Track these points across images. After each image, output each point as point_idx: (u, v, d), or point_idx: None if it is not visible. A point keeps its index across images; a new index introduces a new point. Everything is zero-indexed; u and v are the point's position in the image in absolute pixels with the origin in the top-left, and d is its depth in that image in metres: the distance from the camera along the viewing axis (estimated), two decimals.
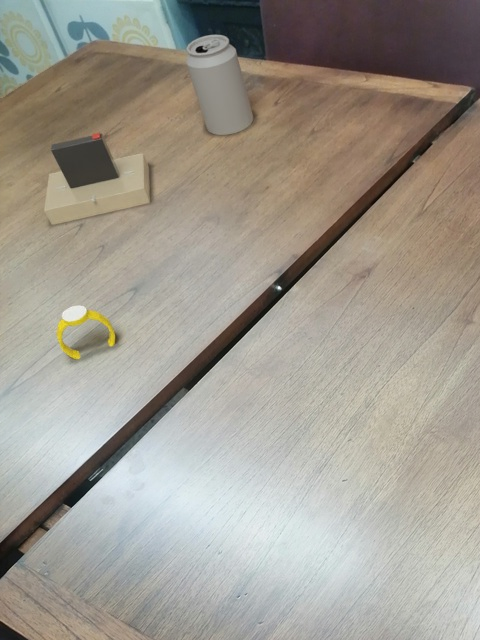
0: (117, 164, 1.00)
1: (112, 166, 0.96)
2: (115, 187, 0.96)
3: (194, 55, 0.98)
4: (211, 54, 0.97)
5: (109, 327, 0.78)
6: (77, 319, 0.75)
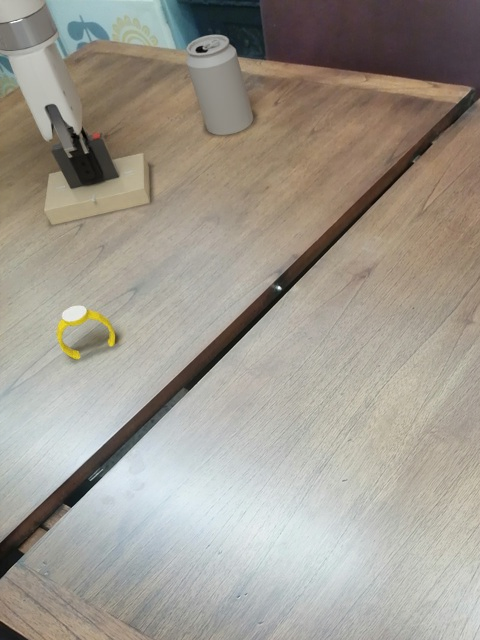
0: (117, 164, 1.00)
1: (112, 166, 0.96)
2: (115, 187, 0.96)
3: (194, 55, 0.98)
4: (211, 54, 0.97)
5: (109, 327, 0.78)
6: (77, 319, 0.75)
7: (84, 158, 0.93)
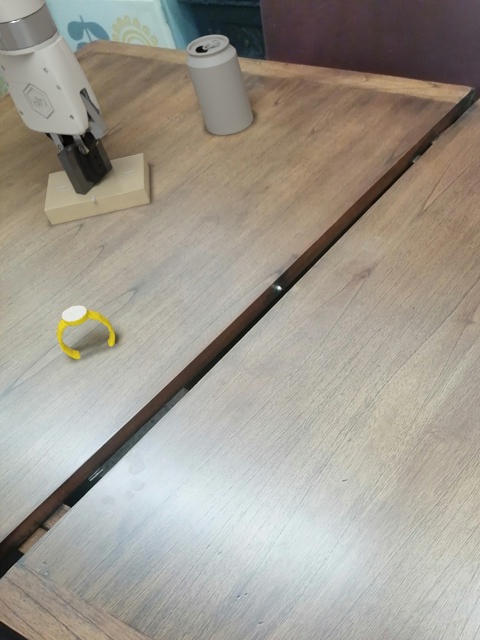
0: (117, 164, 1.00)
1: (107, 156, 0.98)
2: (115, 187, 0.96)
3: (194, 55, 0.98)
4: (211, 54, 0.97)
5: (109, 327, 0.78)
6: (77, 319, 0.75)
7: (95, 151, 0.94)
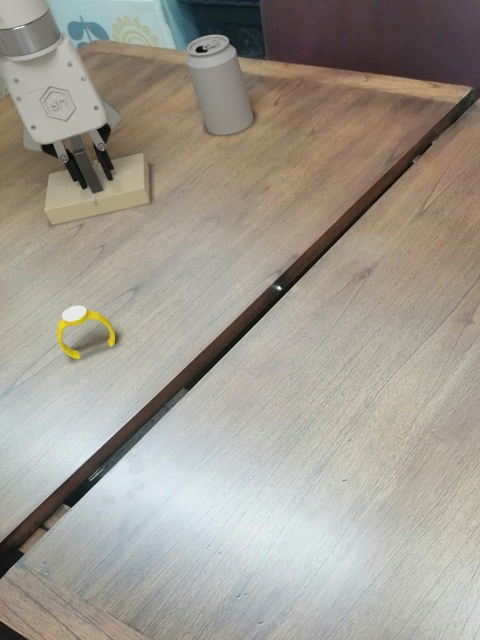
0: (117, 164, 1.00)
1: None
2: (115, 187, 0.96)
3: (194, 55, 0.98)
4: (211, 54, 0.97)
5: (109, 327, 0.78)
6: (77, 319, 0.75)
7: None
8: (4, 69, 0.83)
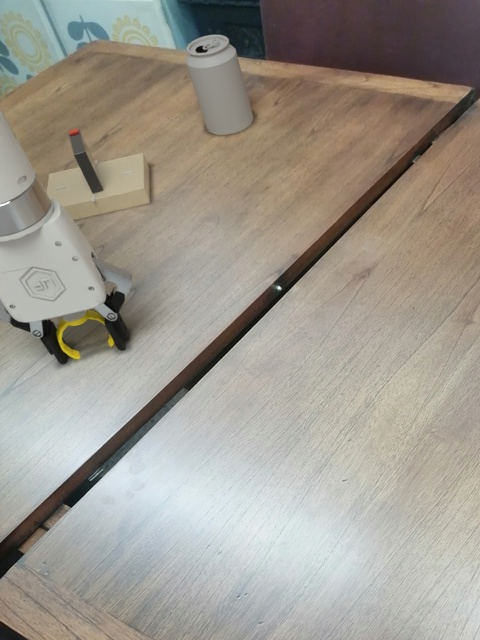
0: (117, 164, 1.00)
1: None
2: (115, 187, 0.96)
3: (194, 55, 0.98)
4: (211, 54, 0.97)
5: None
6: (77, 319, 0.75)
7: (118, 313, 0.78)
8: None
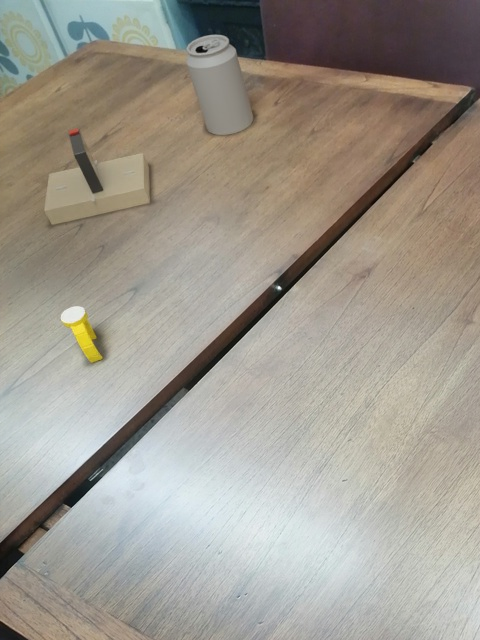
0: (117, 164, 1.00)
1: None
2: (115, 187, 0.96)
3: (194, 55, 0.98)
4: (211, 54, 0.97)
5: (82, 349, 0.77)
6: (61, 319, 0.76)
7: None
8: None
